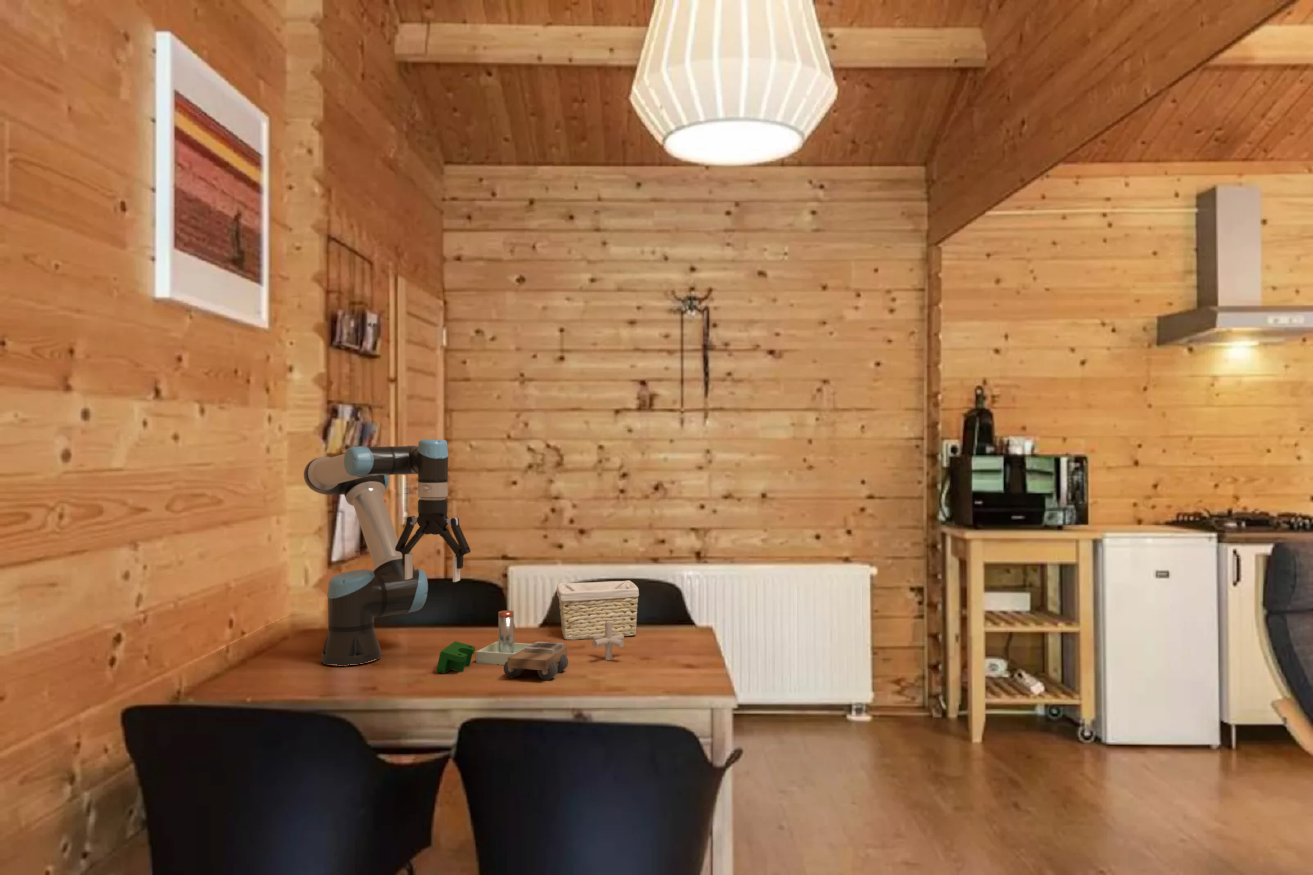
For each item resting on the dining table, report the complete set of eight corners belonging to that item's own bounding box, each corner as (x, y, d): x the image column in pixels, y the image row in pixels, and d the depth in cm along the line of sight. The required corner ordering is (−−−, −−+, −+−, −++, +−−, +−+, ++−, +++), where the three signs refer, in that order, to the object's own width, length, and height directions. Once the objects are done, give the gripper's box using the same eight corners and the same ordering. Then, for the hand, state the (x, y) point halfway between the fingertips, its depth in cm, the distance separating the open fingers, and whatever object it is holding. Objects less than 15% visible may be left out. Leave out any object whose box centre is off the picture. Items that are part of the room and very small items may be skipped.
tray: (476, 663, 227) (476, 651, 227) (495, 652, 238) (495, 641, 238) (516, 665, 224) (516, 654, 224) (534, 655, 235) (534, 644, 235)
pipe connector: (582, 660, 229) (581, 622, 229) (609, 653, 236) (608, 616, 236) (608, 666, 222) (608, 627, 222) (635, 659, 229) (635, 621, 230)
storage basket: (559, 641, 251) (559, 591, 251) (556, 630, 267) (555, 582, 267) (640, 637, 255) (640, 588, 255) (632, 626, 271) (632, 579, 271)
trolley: (499, 679, 210) (499, 653, 210) (523, 665, 224) (523, 640, 224) (550, 683, 207) (550, 656, 207) (571, 668, 220) (571, 643, 220)
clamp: (457, 690, 217) (460, 661, 214) (435, 684, 218) (437, 655, 214) (475, 661, 228) (478, 633, 224) (453, 655, 229) (456, 627, 225)
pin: (496, 658, 229) (495, 613, 229) (502, 654, 233) (502, 610, 233) (510, 658, 228) (509, 613, 228) (516, 655, 232) (515, 610, 232)
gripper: (381, 498, 223) (381, 580, 224) (470, 501, 218) (470, 584, 218) (397, 496, 231) (396, 575, 231) (483, 498, 225) (482, 579, 225)
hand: (432, 580), depth 224 cm, fingers open, 13 cm apart
